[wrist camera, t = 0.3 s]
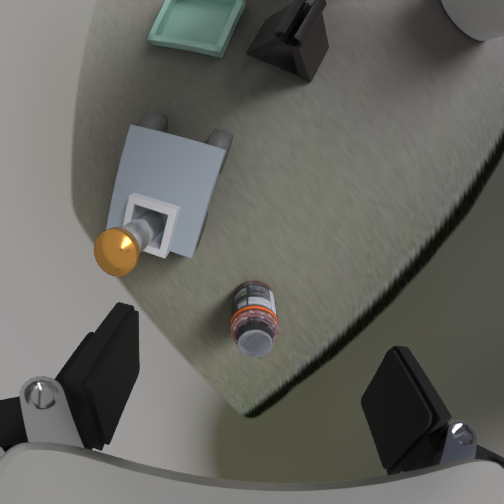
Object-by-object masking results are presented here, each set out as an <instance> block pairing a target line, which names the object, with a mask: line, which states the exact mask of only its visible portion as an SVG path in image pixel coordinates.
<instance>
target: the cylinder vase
mask: <svg viewBox="0 0 504 504" xmlns="http://www.w3.org/2000/svg"><path fill="white" fill-rule="evenodd" d="M441 2H442V5H443V7H444V9H445V11H446V12H447V14H448V15H449V17H450V18H451V20H452V21H453V22H454V23H455V24H456V25H457V26H458V28H460V29H461V30H462V31H463V32H464V33H465V34H467V35H468V36H470V37H472V38H474V39H476V40H479V41H486V40H489V39H493V38H496V37H499V36H503V35H504V0H441Z"/></svg>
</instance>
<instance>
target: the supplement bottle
mask: <svg viewBox="0 0 504 504" xmlns="http://www.w3.org/2000/svg"><path fill="white" fill-rule="evenodd" d="M275 304H276V302H275V298H274V295H273V292H272V290H271V289H270V288H269V287H268V286H267V285H266V284H264V283H262V282H259V281H249V282H246V283H243V284H242V285H240V286H239V287H238V288H237V289H236V291H235V293H234V296H233V304H232V314H231V324H230V332H231V336H232V338H233V340H234V341H235V342H236V344H237V345H238V348H239V350H240V351H241V353H243V354H244V355H246V356H249V357H261V356H264V355H266V354H267V353H268V352H269V351H270V350H271V348H272V345H273V343H274V341H275V340H276V339H277V336H278V334H279V322H278V317H277V310H276V305H275Z"/></svg>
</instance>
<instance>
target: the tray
mask: <svg viewBox="0 0 504 504" xmlns="http://www.w3.org/2000/svg"><path fill="white" fill-rule="evenodd" d="M245 6H246V5H245V0H165V2H164V4H163V6H162V8H161V10H160V12H159V14H158V16H157V18H156V20H155V22H154V24H153V27H152V29H151V31H150V33H149V35H148V38H147V40H148V41H149V42H150V43H151V44H152V45H155V46H162V47H168V48H174V49H180V50H185V51H191V52H196V53H200V54H205V55H209V56H214V57H218V58H223V56H224V53H225V51H226V49H227V46H228V44H229V42H230V39H231V37H232V35H233V32H234V30H235V28H236V26H237V23H238V21H239V19H240V17H241V15H242V12H243V10H244V8H245Z"/></svg>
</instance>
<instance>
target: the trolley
mask: <svg viewBox="0 0 504 504" xmlns="http://www.w3.org/2000/svg"><path fill="white" fill-rule="evenodd" d="M167 126H168V118H167V116H166V115H162V114H157V113H153V112H147V113H145V114H144V116H143V117H142V118H141V120H140V122H139V124H138V126H136V125H130V127H129V131H128V134H127V138H126V141H125V145H124V149H123V152H122V156H121V160H120V164H119V168H118V172H117V177H116V181H115V186H114V190H113V195H112V200H111V205H110V210H109V216H108V221H107V227H106V230H108V229H110V228H113V227H123V226H124V225H126V224H127V223H129V222H130V221H132V220H133V219H135V218H136V217H138V216H139V215H141V214H142V213H144V212H146V211H148V210H153V211H156V212H158V213H159V214H160V215H161V216H162V218H163V220H164V228H163V230H162V232H161V233H160V234H159V235H158V236H157V237H156V238H155V239H154V240H153V241H152V242H151V243H150V244H149V245H148V246H147V247H146V248H145V249H144V250H143V251H144V252H147V253H150V254H153V255H156V256H159V257H162V258H166V257H167V255H168V254H169V251H171V252H174V253H177V254H180V255H183V256H186V257H189V258H192V257H193V255H194V253H195V250H196V249H197V247H198V245H199V242H200V239H201V236H202V233H203V230H204V227H205V224H206V220H207V216H208V212H207V209H208V206H209V203H210V200H211V196H212V193H213V190H214V187H215V184H216V181H217V178H218V175H219V174H220V173H221V171H222V168H223V166H224V163H225V161H226V158H227V155H228V152H229V149H230V146H231V143H232V139H233V134H231V133H228V132H225V131H221V130H218V129H214V130H213V132H212V134H211V136H210V138H209V140H208V143H203V142H199V141H195V140H192V139H188V138H185V137H181V136H177V135H173V134H170V133H166V131H167Z"/></svg>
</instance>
